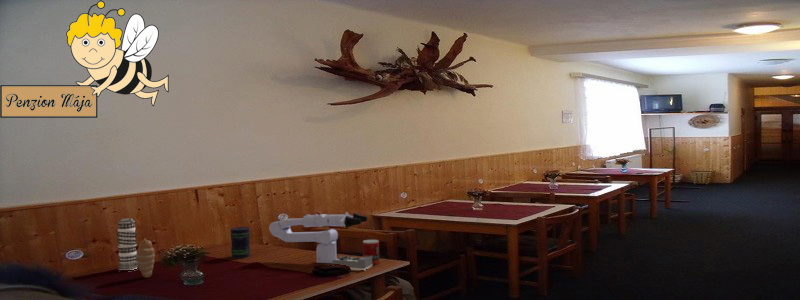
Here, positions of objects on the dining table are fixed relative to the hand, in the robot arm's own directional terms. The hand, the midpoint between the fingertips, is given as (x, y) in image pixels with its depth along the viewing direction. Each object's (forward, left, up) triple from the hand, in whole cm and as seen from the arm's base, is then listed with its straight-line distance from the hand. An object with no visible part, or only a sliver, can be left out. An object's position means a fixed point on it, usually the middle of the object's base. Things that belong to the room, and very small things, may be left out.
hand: (363, 220), depth 288 cm
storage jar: (-72, +4, -21) cm, 75 cm away
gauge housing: (-3, -9, -21) cm, 23 cm away
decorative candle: (-110, -35, -21) cm, 118 cm away
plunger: (-5, -10, -20) cm, 23 cm away
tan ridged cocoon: (-88, -47, -21) cm, 102 cm away
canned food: (+3, +1, -21) cm, 21 cm away
